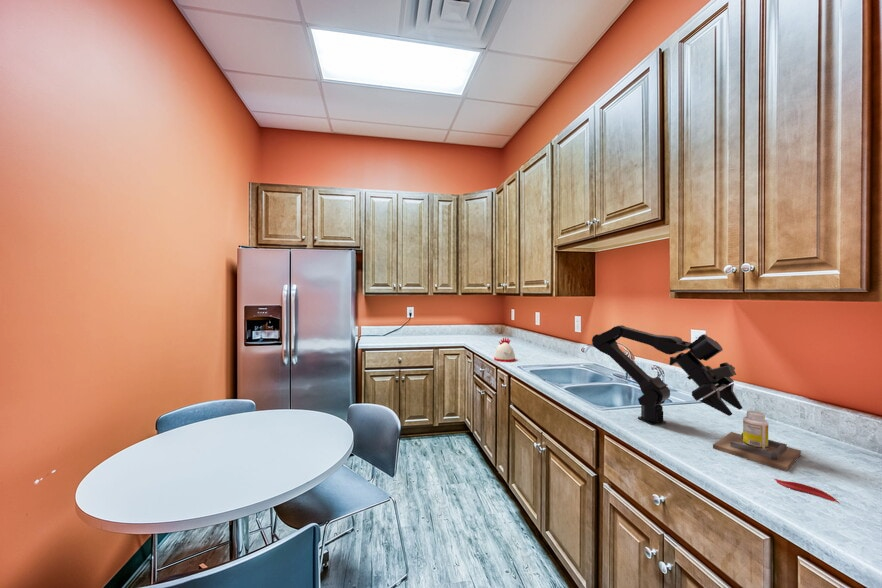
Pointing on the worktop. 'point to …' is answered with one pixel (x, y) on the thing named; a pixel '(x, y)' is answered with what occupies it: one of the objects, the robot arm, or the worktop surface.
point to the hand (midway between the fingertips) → (736, 412)
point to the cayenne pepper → (806, 489)
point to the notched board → (759, 451)
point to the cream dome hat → (504, 352)
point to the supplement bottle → (755, 430)
